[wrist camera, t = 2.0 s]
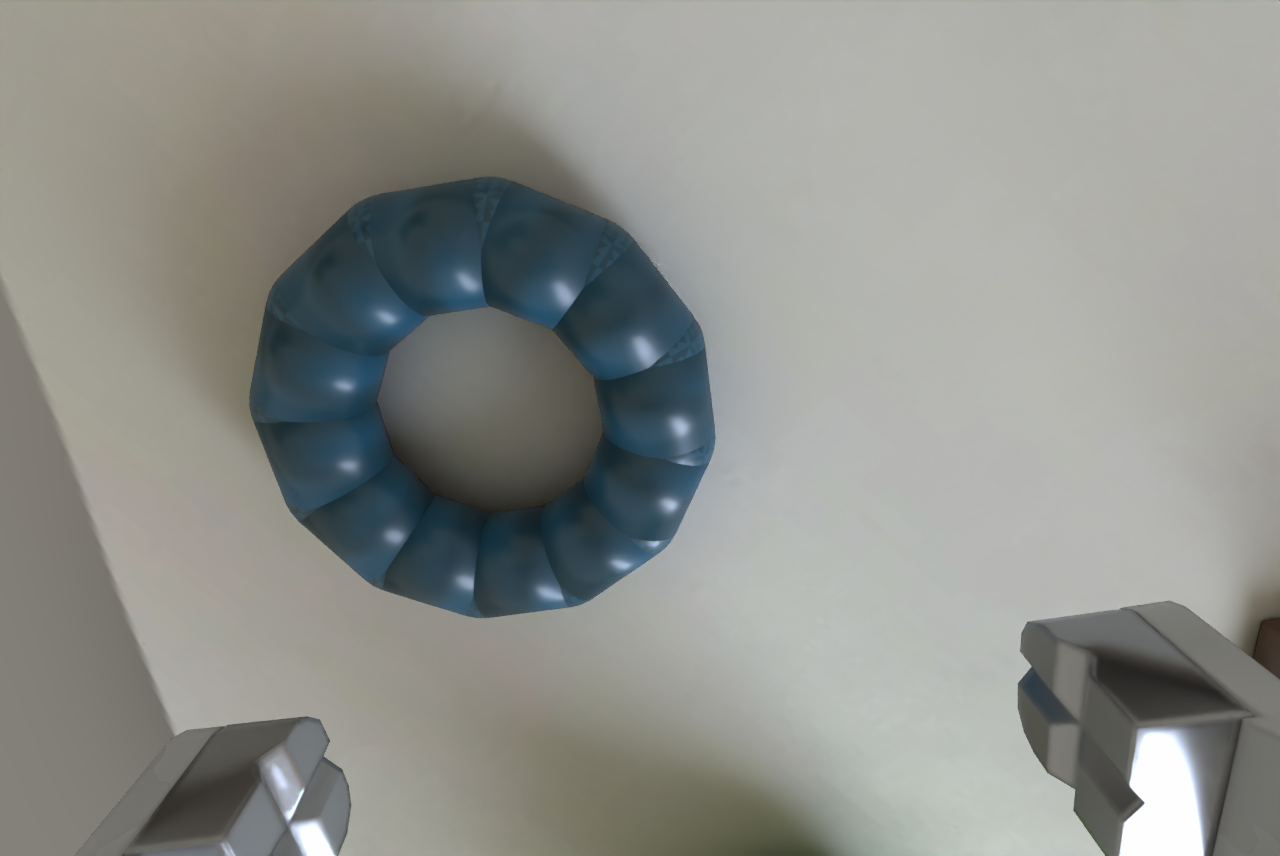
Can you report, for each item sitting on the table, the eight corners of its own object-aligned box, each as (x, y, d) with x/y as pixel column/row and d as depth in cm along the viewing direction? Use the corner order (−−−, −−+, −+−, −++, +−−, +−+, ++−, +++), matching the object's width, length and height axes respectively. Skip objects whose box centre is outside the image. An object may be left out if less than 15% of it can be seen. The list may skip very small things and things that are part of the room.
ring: (225, 220, 17) (146, 231, 15) (677, 146, 17) (685, 142, 14) (362, 597, 22) (322, 660, 19) (726, 549, 21) (739, 607, 18)
